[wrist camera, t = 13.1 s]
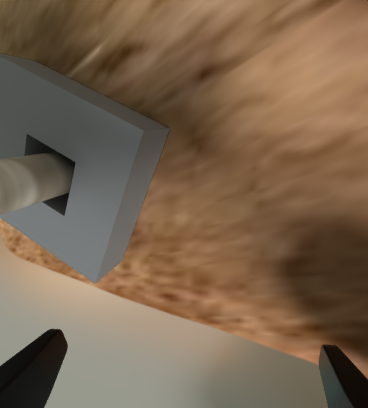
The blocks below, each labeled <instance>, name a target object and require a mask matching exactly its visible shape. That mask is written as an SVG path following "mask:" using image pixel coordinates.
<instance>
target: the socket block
mask: <svg viewBox="0 0 368 408" xmlns="http://www.w3.org/2000/svg"><path fill="white" fill-rule="evenodd" d="M169 130H170V129H169V128H167V127H165V126H163V125H161V124H159V123H157V122H155V121H153V120H151V119H149V118H147V117H145V116H143V115H141V114H139V113H137V112H136V111H134V110H132V109H130V108H128V107H126V106H124V105H122V104H120V103H118V102H116V101H114V100H112V99H110V98H108V97H106V96H104V95H102V94H100V93H98V92H96V91H94V90H92V89H90V88H88V87H86V86H84V85H82V84H80V83H78V82H76V81H74V80H72V79H70V78H68V77H66V76H64V75H62V74H60V73H58V72H56V71H54V70H52V69H50V68H48V67H46V66H44V65H42V64H40V63H38V62H36V61H32V60H28V59H23V58H19V57H15V56H10V55H6V54H1V53H0V159H5V158H12V157H19V156H27V155H34V154H42V153H49V152H56V151H57V152H59V153H61V154H62V155H64V156H66V157H68V158H69V159H71V160H73V161H74V162H76V164H75V169H74V174H73V178H72V183H71V188H70V192H69V193H66V194H63V195H60V196H57V197H54V198H51V199H48V200H45V201H42V202H39V203H36V204H33V205H30V206H27V207H24V208H21V209H18V210H14V211H11V212H8V213H5V214H2V215H0V218H1V219H3V220H4V221H6V222H7V223H8V224H10V225H11V226H13V227H14V228H16V229H17V230H19V231H20V232H21V233H23V234H24V235H26V236H27V237H29V238H30V239H31V240H33V241H34V242H36V243H37V244H39V245H40V246H42V247H43V248H44V249H46V250H47V251H49V252H50V253H52V254H53V255H55V256H56V257H57V258H59V259H60V260H62V261H63V262H65V263H66V264H67V265H69V266H70V267H72V268H73V269H75V270H76V271H78V272H79V273H80V274H82V275H83V276H85V277H86V278H88V279H89V280H91V281H92V282H93V283H97V282H98V281H99V280H100V279H101V278H103V277H104V276H105V275H106V274H107V273H108V272H110V271H111V270H112V269H113V268H114V267H116V266H117V265H118V264H119V263H120V262H122V260H123V257H124V254H125V252H126V249H127V246H128V243H129V240H130V238H131V235H132V232H133V229H134V227H135V224H136V221H137V218H138V216H139V213H140V210H141V207H142V205H143V202H144V199H145V196H146V194H147V191H148V188H149V185H150V183H151V180H152V177H153V174H154V172H155V169H156V166H157V163H158V161H159V158H160V155H161V152H162V150H163V147H164V144H165V141H166V139H167V136H168V133H169Z"/></svg>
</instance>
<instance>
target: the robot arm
mask: <svg viewBox="0 0 368 408" xmlns="http://www.w3.org/2000/svg"><path fill="white" fill-rule="evenodd" d="M67 347H68V345H67V341H66V339H65V337H64V334H63V332H62V331H61V330H60V329H50V330H48V331H46V332H45V333H44V334H42V335H41V336H40V337H38V338H37V339H36V340H34V341H33V342H32V343H30V344H29V345H28V346H26V347H25V348H24V349H22V350H21V351H20V352H18V353H17V354H16V355H14V356H13V357H12V358H10V359H9V360H8V361H6V362H5V363H4V364H3V365H1V366H0V408H44V406H45V404H46V402H47V400H48V398H49V396H50V393H51V391H52V388H53V386H54V383H55V381H56V378H57V375H58V373H59V370H60V368H61V365H62V362H63V360H64V357H65V355H66V352H67ZM319 369H320V373H321V378H322V382H323V386H324V391H325V395H326V399H327V404H328V408H368V379H367V378H366V377H365V376H364V375H363V374H362V373H361V371H360V370H359V369H358V368H357V367H356V366H355V365H354V364H353V363H352V362H351V361H350V359H349V358H348V357H347V356H346V355H345V354H344V353H343V352H342V351H341V350H340V349H339V348H338V347H337V346H335V345H322V346H321V351H320V357H319Z"/></svg>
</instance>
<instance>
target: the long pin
mask: <svg viewBox="0 0 368 408" xmlns="http://www.w3.org/2000/svg"><path fill="white" fill-rule="evenodd" d="M75 164H76V162H74V161H73V160H71V159H69V158H68V157H66V156H64V155H62V154H61V153H59V152H57V151H56V152H49V153H42V154H34V155H27V156H19V157H12V158H5V159H0V215H2V214H5V213H8V212H11V211H14V210H18V209H21V208H24V207H27V206H30V205H33V204H36V203H39V202H42V201H45V200H48V199H51V198H54V197H57V196H60V195H63V194H66V193H69V192H70V188H71V183H72V178H73V174H74V169H75Z"/></svg>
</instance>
